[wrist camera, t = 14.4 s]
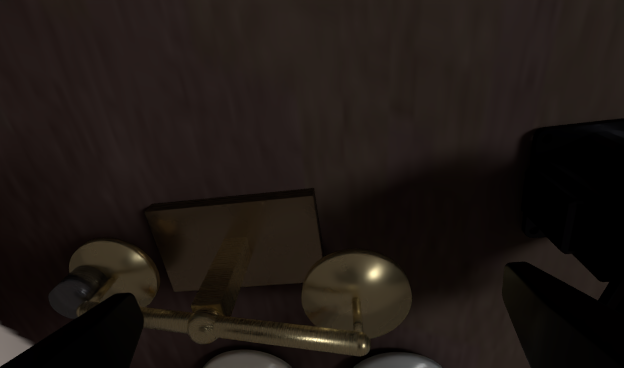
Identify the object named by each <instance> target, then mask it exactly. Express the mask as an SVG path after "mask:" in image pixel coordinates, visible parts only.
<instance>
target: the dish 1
mask: <svg viewBox="0 0 624 368" xmlns="http://www.w3.org/2000/svg"><path fill="white" fill-rule="evenodd" d="M203 368H292V367H291V366H290V365H289V364H288V363H286V362H285V361H283V360H282V359H280V358H278V357H276V356H274V355H271V354H268V353H265V352H261V351H256V350H232V351H227V352H224V353H221V354H219V355H217V356H215V357H213V358H212V359H210V360H209V361H208V362H207V363H206V364H205V365H204V367H203Z"/></svg>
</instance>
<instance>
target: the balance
mask: <svg viewBox="0 0 624 368" xmlns="http://www.w3.org/2000/svg"><path fill="white" fill-rule="evenodd" d="M144 213H145V216H146V218H147V221H148V224H149V226H150V229H151V231H152V234H153V237H154V239H155V242H156V245H157V247H158V250H159V253H160V255H161V258H162V261H163V263H164V266H165V269H166V271H167V274H168V276H169V279H170V282H171V284H172V287H173V290H174V292H179V291H193V290H198V292H197V294H196V296H195V299H194V301H193V303H192V305H191V308H192V311H193V313H190V312H182V311H173V310H164V309H155V308H146V306H147V305H149V304H150V303H151V301H152V300H153V299H154V297H155V295H156V294H157V292H158V290H159V287H160V275H159V271H158V269H157V267H156V265H155V263H154V262H153V260H152V259H151V258H150V257H149V256H148V255H147V254H146V253H145V252H144V251H143V250H141V249H140V248H138V247H137V246H135V245H133V244H131V243H129V242H127V241H124V240H121V239H116V238H109V237H103V238H96V239H93V240H90V241H88V242H86V243H85V244H83V245H82V246H81V247H80V248H79V249H78V250H77V251H76V252H75V253H74V254H73V255H72V257H71V260H70V263H69V272H70V273H69V274H68V275H67V276H66V277H65V278H64V279H63V280H62V281H61V282H60V283H59V284H58V285H57V286H56V287H55V288H54V289H53V290H52V291H51V292H50V293H49V303H50V305H51V306H52V308H53V309H54V310H55V311H56V312H58V313H59V314H61V315H63V316H65V317H67V318H71V319H76V318H77V317H79V316H80V315H82V314H84V313H85V312H87V311H88V310H90V309H91V308H93V307H94V306H96V305H98V304H99V303H101V302H102V301H104V300H105V299H107V298H109V297H110V296H112V295H113V294H116V293H127V292H129V293H132V294H133V295H134V296H135V298H136V300H137V302H138V305H139V307H140V309H141V311H142V314H143V316H144V326H143V328H150V329H157V330H165V331H172V332H180V333H187V334H188V335H189V336H190V338H191V339H192V340H193V341H194V342H196V343H198V344H209V343H211V342H213V341H215V340H216V339H217V338H225V339H232V340H240V341H247V342H255V343H262V344H270V345H277V346H285V347H292V348H300V349H307V350H315V351H322V352H330V353H337V354H345V355H352V356H364V355H366V354H367V353H368V352H369V350H370V348H371V342H370V339H371V338H375V337H379V336H382V335H384V334H386V333H388V332H390V331H392V330H393V329H395V328H396V327H397V326H398V325H399V324H400V323H401V322H402V321H403V320H404V319H405V318H406V316H407V314H408V312H409V310H410V307H411V303H412V293H411V288H410V285H409V281H408V278H407V276H406V274H405V272H404V271H403V269H402V268H401V267H400V266H399V265H398V264H397V263H396V262H395V261H394V260H392V259H391V258H389V257H388V256H386V255H384V254H382V253H379V252H376V251H373V250H368V249H345V250H340V251H336V252H333V253H331V254H328V255H326V256H325V257H324V252H323V245H322V239H321V232H320V225H319V218H318V212H317V205H316V198H315V191H314V188H310V189H300V190H290V191H280V192H270V193H260V194H249V195H239V196H229V197H219V198H209V199H199V200H189V201H179V202H168V203H158V204H152V205H151V206H150V207H149V208H148V209H147V210H146V211H145V212H144ZM292 283H303V287H302V298H301V299H302V305H303V309H304V311H305V313H306V315H307V317H308V318H309V320H310V321H311V322H312V323H313V324H314V325H315V326H316V327H315V326H306V325H297V324H288V323H279V322H270V321H262V320H253V319H244V318H235V317H231V314H232V311H233V309H234V306H235V303H236V300H237V297H238V294H239V291H240V288H241V287H250V286H264V285H278V284H292Z"/></svg>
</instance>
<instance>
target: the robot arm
mask: <svg viewBox="0 0 624 368" xmlns="http://www.w3.org/2000/svg"><path fill="white" fill-rule="evenodd" d="M546 134H548V138H547V139H546V140H544V141H542V138H543V136H544V135H546ZM521 211H522V212H523V221H522V231H523V232H524V233H525V235H526V236H528V237H530V238H537V237H547V238H548V239H549V240H550V241H551V242H552V243H553V244H554V245H555V246H556V247H557V248H558V249H559V250H560V251H561V252H563V253H564V254H573V255H574V256H575V257H576V258H577V259H578V260H579V261H580V262H581V263H582V264H583V265H584V266H585V267H586V268H587V269H588V270H589V271H590V272H591V273H592V274H593V275H594V276H595V277H596V278H597V279H598V280H599V281H601V282H609V284H608V285H607V287H606V288H605V290H604V292H603V293H602V295H601V296H600V298H599V300H596V299H594V298H592V297H590V296H589V295H587V294H585V293H583V292H581V291H579V290H577V289H576V288H574V287H572V286H570V285H568V284H566V283H565V282H563V281H561V280H559V279H557V278H555V277H553V276H552V275H550V274H548V273H546V272H544V271H542V270H541V269H539V268H537V267H535V266H533V265H531V264H529V263H527V262H512V263H507V264H506V265H505V268H504V277H503V287H502V296H503V301H504V303H505V306H506V308H507V311H508V313H509V316H510V318H511V321H512V323H513V326H514V328H515V331H516V333H517V336H518V338H519V341H520V343H521V345H522V348H523V350H524V353H525V355H526V358H527V360H528V362H529V365H530V367H531V368H624V118H623V119H614V120H605V121H595V122H586V123H577V124H568V125H559V126H550V127H543V128H540V129H538V130H537V131H536V132H535V133H534V136H533V141H532V149H531V157H530V165H529V168H528V169H527V170H526V172H525V180H524V188H523V196H522V204H521ZM532 227H535V228H534V229H533V230H530V229H531V228H532ZM143 326H144V316H143V314H142V311H141V309H140V307H139V305H138V302H137V300H136V298H135V296H134V295H133V294H132V293H129V292H127V293H116V294H113V295H112V296H110V297H109V298H107V299H105V300H104V301H102V302H101V303H99V304H98V305H96V306H94V307H93V308H91V309H90V310H88V311H87V312H85V313H84V314H82V315H80V316H79V317H77V318H76V319H74V320H73V321H71V322H69V323H68V324H66V325H65V326H63V327H62V328H60V329H59V330H57V331H55V332H54V333H52V334H51V335H49V336H48V337H46V338H44V339H43V340H41V341H40V342H38V343H37V344H35V345H34V346H32V347H30V348H29V349H27V350H26V351H24V352H23V353H21V354H19V355H18V356H16V357H15V358H13V359H12V360H10V361H9V362H7V363H5V364H4V365H2V366H1V367H0V368H129V367H130V364H131V361H132V358H133V355H134V352H135V349H136V347H137V344H138V341H139V338H140V335H141V332H142V329H143Z"/></svg>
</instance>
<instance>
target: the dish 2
mask: <svg viewBox="0 0 624 368" xmlns="http://www.w3.org/2000/svg"><path fill="white" fill-rule="evenodd" d="M353 368H443V367H442V366H441V365H439V364H438V363H437V362H435V361H433V360H431V359H430V358H427V357H425V356H422V355H418V354H414V353H408V352H389V353H383V354H378V355H375V356H372V357H369V358H367V359H365V360H363V361H361V362H360V363H358V364H357V365H355V366H354V367H353Z"/></svg>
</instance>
